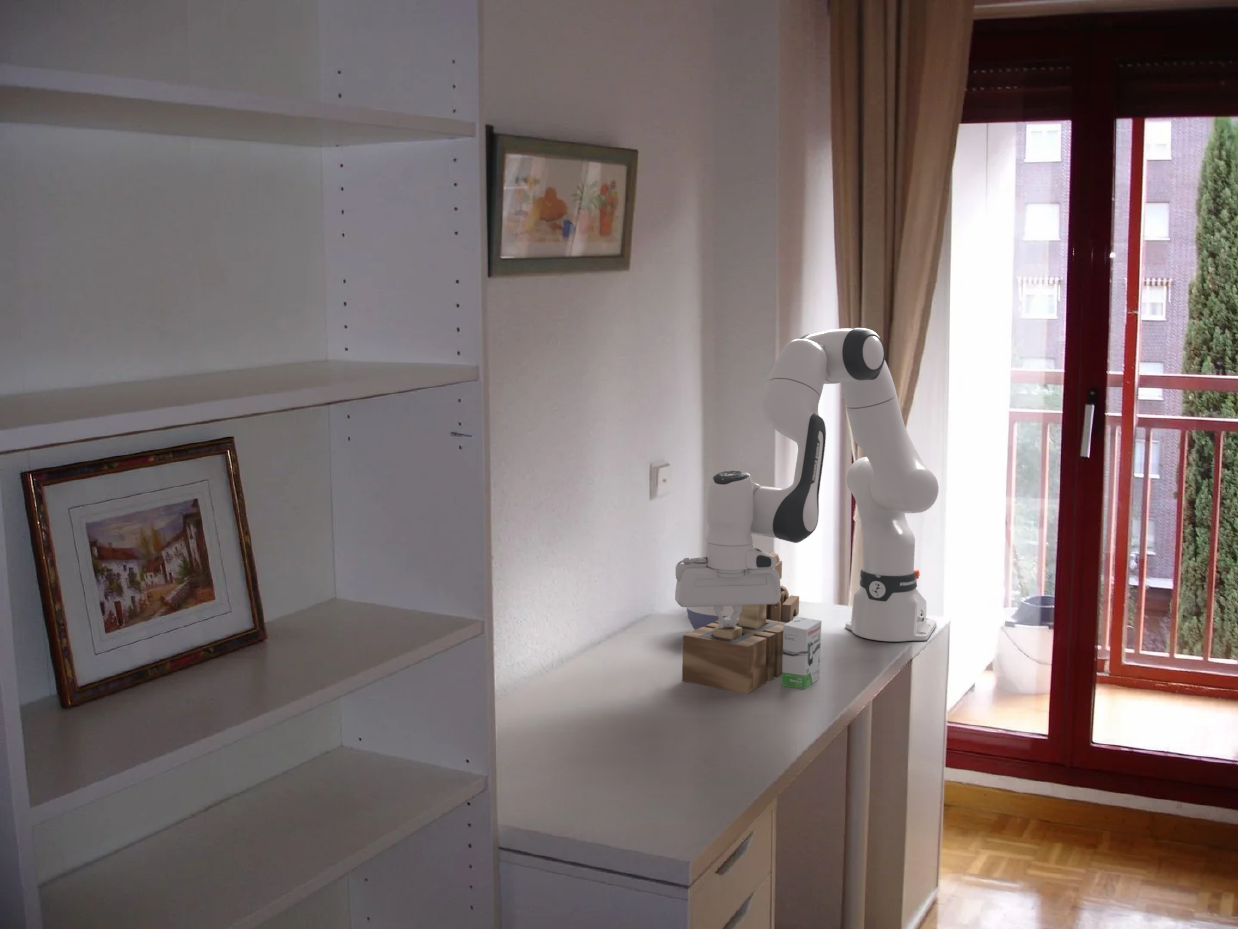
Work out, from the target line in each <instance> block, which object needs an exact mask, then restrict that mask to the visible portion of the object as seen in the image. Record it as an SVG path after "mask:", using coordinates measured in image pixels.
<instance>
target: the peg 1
mask: <svg viewBox="0 0 1238 929" xmlns="http://www.w3.org/2000/svg"><path fill="white" fill-rule="evenodd" d="M713 636H714V637H720V638H725V639H731V640H734V639H736V638H738V637H740V636H742V627H737V626H736V627H735V628H724V629H720V628H719V627H716V628H714V634H713Z"/></svg>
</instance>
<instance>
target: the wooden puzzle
mask: <svg viewBox="0 0 1238 929" xmlns="http://www.w3.org/2000/svg"><path fill="white" fill-rule="evenodd" d="M752 547H753V548H754V546H753V545H752ZM768 553H770V554H771V555H773V556H774V557H775V558H776V560H777V564H776V567H774V569H776V570H777V572H778V574H779V577H780V580H782V577H783V576H782V575H783V574H782V573H783V561H782V560H781V559H780V557H779V554H778V553H776V552H773V551H768ZM780 587H781V598H780V600H779V601H778V603H777V604H766V620H772V621H778V622H784V623H788V622H790V621H792V620H794V619H793V618H794V616H795V617H796V616H798V615H799V610H800V596H799V595H790V594H789V590H788V589H787V588H786V586H783V585H780Z"/></svg>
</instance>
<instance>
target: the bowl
mask: <svg viewBox="0 0 1238 929" xmlns="http://www.w3.org/2000/svg"><path fill="white" fill-rule="evenodd" d="M733 611H734V609H733V608H732V606H723V611H720V612H721V614H722V616H723V618H725V617H727V616H730V615H731V614H732V613H733ZM686 612H687V617H688V620H689V622H690V624H691V625H692V628H693V630H696V629H699V628H701V627H706V625H708V624H711V623H715V621H718V620H719V618H718V617H717V615H716V613H715V611H714V610H713V606H709V607H686Z"/></svg>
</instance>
